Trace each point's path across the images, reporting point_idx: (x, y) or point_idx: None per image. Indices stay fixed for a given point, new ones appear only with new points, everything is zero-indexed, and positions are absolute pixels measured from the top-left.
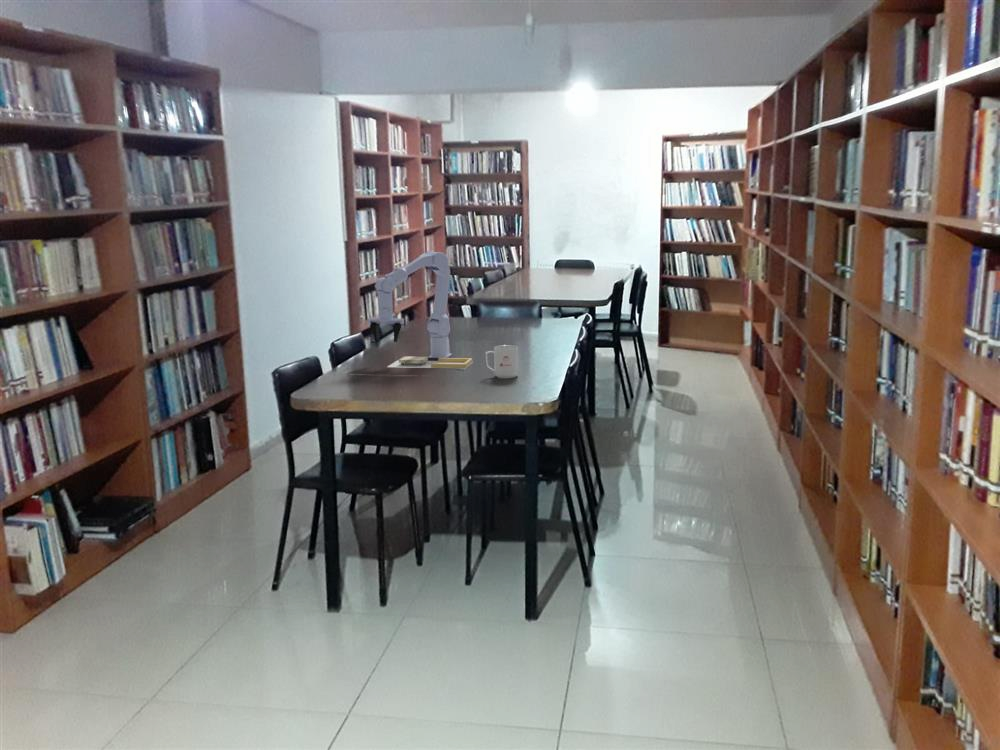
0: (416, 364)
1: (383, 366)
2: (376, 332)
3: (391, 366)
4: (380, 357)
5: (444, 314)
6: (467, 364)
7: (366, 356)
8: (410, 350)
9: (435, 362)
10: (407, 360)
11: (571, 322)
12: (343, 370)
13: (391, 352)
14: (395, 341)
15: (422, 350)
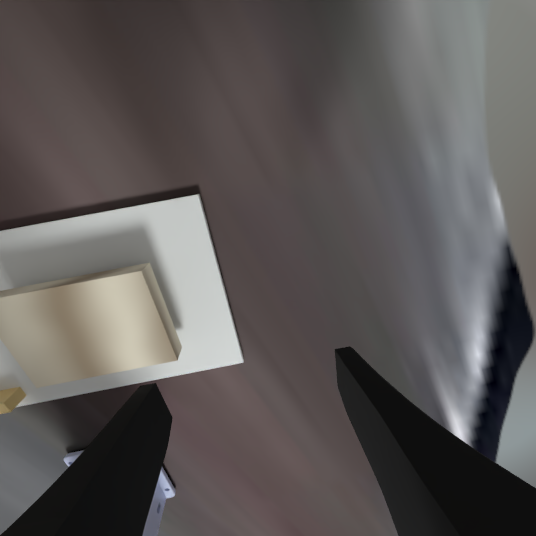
0: None
1: (249, 240)
2: (392, 446)
3: (180, 220)
4: None
5: None
6: None
7: (425, 400)
8: (301, 507)
9: (23, 373)
10: (83, 280)
11: None
12: (447, 48)
13: (354, 471)
14: (138, 390)
15: (260, 517)
